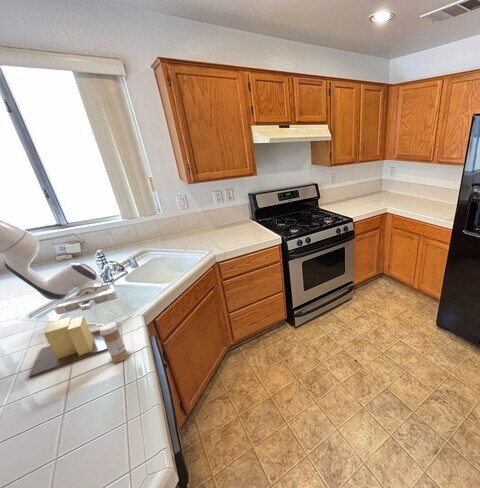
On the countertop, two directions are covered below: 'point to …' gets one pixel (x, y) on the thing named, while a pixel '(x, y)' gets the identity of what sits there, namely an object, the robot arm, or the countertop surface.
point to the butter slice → (80, 335)
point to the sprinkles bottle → (113, 341)
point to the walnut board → (50, 362)
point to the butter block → (60, 338)
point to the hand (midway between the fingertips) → (85, 308)
